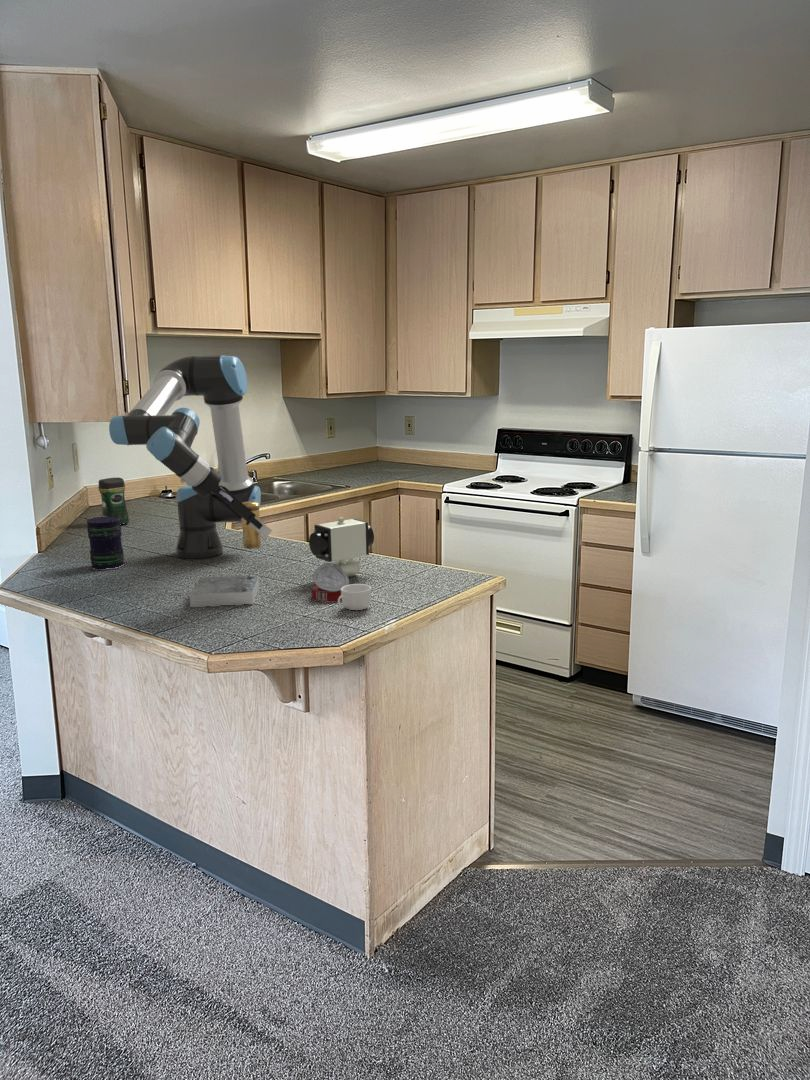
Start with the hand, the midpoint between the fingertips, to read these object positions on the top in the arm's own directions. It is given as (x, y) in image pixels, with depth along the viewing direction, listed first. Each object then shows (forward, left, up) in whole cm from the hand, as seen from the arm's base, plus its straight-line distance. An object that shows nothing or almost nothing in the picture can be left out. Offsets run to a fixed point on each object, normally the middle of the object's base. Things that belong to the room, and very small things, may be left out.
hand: (264, 532), depth 216 cm
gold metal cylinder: (+2, -3, -3) cm, 5 cm away
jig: (+5, -11, -16) cm, 20 cm away
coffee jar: (-101, -69, -17) cm, 124 cm away
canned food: (+8, +17, -17) cm, 25 cm away
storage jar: (-34, -53, -17) cm, 65 cm away
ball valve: (-11, +20, -17) cm, 29 cm away
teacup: (+20, +23, -17) cm, 35 cm away
